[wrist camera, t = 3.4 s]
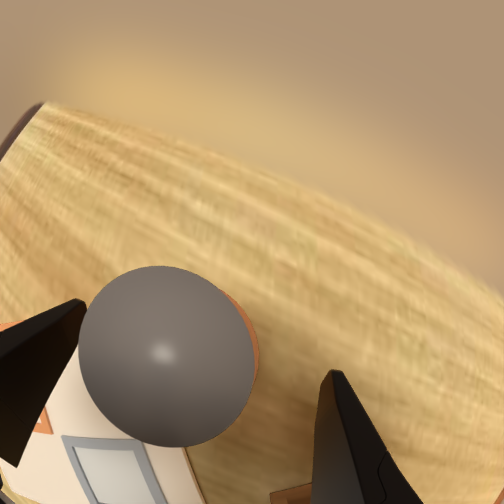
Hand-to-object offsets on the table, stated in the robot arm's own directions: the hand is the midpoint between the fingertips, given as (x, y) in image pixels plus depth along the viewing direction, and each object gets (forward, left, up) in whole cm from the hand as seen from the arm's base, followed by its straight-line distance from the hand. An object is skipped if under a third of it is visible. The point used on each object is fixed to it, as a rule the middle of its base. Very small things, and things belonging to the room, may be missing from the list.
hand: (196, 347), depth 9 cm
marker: (0, 0, -8) cm, 8 cm away
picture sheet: (-6, +15, -8) cm, 18 cm away
